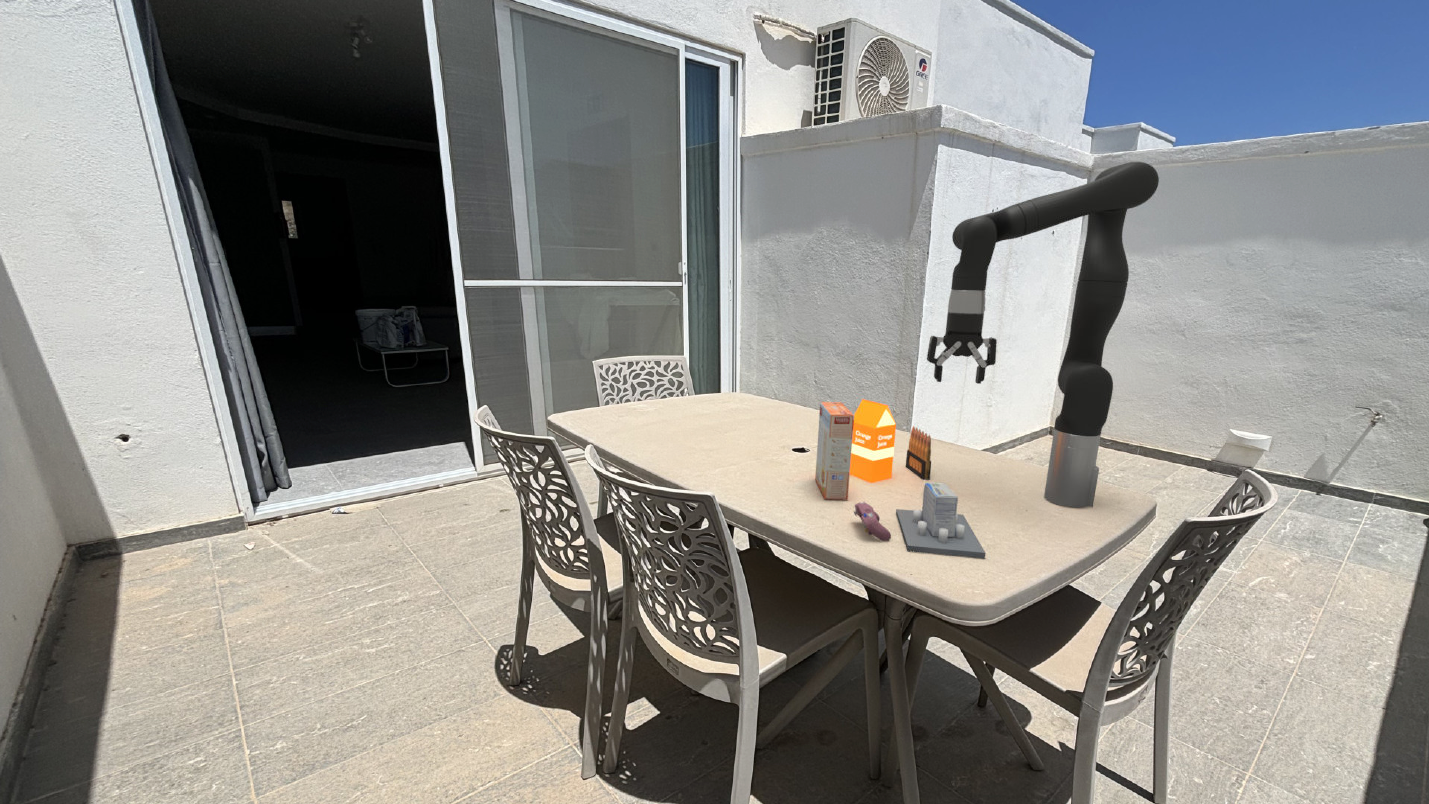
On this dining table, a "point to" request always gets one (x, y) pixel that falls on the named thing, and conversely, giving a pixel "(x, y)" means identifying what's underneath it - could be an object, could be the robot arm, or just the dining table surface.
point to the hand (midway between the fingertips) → (958, 382)
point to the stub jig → (924, 542)
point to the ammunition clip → (919, 454)
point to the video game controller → (871, 521)
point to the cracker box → (834, 450)
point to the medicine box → (939, 508)
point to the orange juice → (872, 442)
